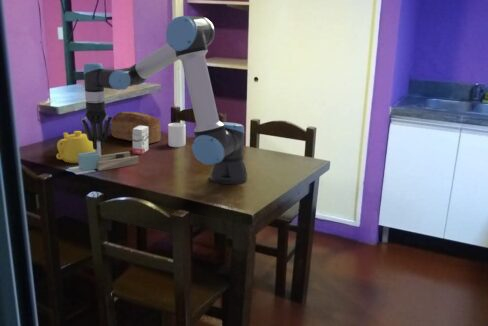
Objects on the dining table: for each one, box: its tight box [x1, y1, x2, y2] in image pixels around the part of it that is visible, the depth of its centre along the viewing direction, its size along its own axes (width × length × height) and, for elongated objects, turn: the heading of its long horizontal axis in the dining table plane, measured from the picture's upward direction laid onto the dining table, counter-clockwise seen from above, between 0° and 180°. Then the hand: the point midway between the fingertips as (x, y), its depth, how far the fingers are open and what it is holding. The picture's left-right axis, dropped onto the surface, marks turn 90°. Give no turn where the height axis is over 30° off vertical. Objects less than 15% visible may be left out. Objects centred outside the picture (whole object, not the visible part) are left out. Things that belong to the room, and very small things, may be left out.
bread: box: [110, 111, 162, 145], centre depth 255 cm, size 12×28×14 cm, turn 60°
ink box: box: [132, 126, 149, 155], centre depth 234 cm, size 9×5×12 cm, turn 168°
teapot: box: [56, 130, 95, 164], centre depth 220 cm, size 20×19×13 cm
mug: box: [167, 122, 187, 148], centre depth 249 cm, size 9×12×11 cm
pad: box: [68, 165, 96, 175], centre depth 206 cm, size 10×8×1 cm
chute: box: [97, 151, 140, 172], centre depth 214 cm, size 10×18×4 cm, turn 128°
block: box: [78, 152, 100, 171], centre depth 207 cm, size 6×7×6 cm
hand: (98, 156), depth 210 cm, fingers closed
